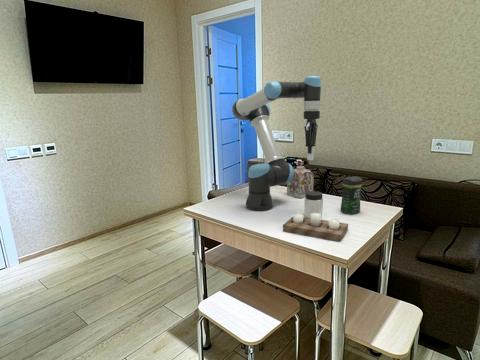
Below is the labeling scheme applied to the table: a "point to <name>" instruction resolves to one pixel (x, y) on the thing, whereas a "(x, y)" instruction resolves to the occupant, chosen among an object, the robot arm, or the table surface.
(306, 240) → the table surface
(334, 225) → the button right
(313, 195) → the jar
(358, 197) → the coffee jar
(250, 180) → the robot arm
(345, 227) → the button board
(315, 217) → the button middle
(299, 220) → the button left
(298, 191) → the decorative jar
